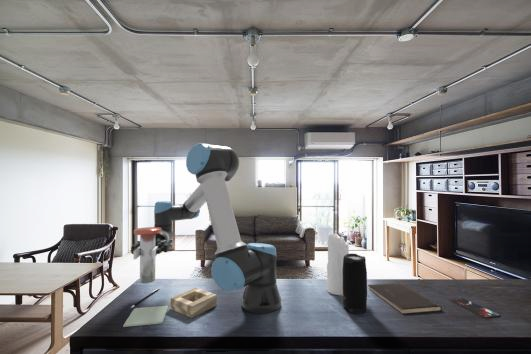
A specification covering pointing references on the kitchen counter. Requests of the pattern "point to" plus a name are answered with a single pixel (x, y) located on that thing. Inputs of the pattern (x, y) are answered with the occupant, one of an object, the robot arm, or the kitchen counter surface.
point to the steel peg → (147, 252)
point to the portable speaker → (354, 283)
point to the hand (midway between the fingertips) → (143, 254)
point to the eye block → (193, 302)
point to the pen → (145, 298)
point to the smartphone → (474, 308)
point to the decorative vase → (335, 263)
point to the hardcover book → (404, 298)
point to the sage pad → (146, 316)
